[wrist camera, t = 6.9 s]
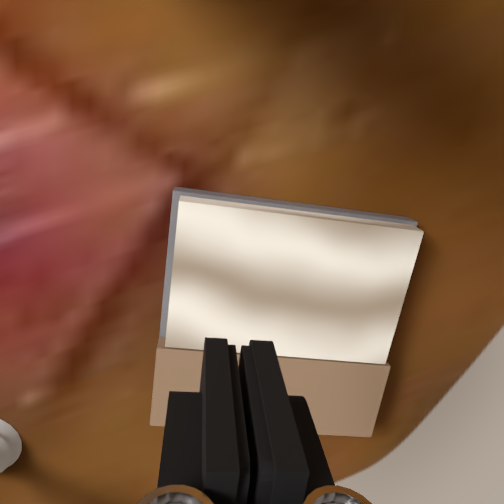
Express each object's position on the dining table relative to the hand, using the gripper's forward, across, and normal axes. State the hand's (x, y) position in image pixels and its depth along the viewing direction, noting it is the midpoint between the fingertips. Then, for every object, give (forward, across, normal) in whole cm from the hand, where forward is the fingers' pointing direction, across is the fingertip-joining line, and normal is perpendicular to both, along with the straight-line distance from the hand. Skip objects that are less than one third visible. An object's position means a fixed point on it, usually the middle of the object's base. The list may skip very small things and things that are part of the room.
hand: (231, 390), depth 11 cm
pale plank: (+17, -5, +4) cm, 18 cm away
